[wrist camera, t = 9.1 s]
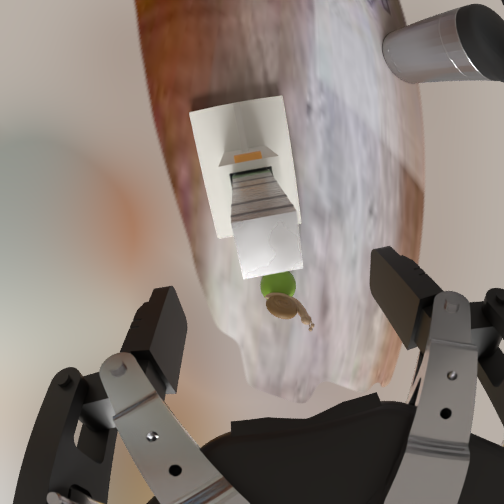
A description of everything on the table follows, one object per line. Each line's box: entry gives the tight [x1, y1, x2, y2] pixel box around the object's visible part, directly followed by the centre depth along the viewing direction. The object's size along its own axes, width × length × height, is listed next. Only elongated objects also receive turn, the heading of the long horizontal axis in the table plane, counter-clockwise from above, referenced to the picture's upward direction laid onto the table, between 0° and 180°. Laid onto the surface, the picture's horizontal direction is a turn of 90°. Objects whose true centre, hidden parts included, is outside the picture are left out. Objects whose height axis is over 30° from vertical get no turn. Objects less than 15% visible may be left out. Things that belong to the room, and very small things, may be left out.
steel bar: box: [230, 167, 303, 279], centre depth 22 cm, size 3×3×17 cm
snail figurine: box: [261, 271, 314, 331], centre depth 40 cm, size 5×6×12 cm
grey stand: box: [189, 96, 301, 239], centre depth 31 cm, size 18×12×14 cm, turn 10°
